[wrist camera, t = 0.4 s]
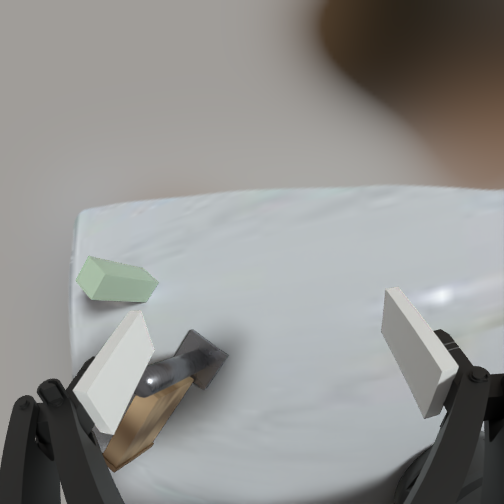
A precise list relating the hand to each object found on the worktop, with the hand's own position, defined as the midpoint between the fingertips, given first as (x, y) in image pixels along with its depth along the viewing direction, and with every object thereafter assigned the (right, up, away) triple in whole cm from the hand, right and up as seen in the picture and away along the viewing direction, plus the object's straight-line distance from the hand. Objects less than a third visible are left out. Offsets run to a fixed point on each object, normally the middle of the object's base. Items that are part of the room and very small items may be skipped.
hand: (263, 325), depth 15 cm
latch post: (-14, 0, +20) cm, 24 cm away
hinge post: (-6, -8, +17) cm, 20 cm away
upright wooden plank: (-11, -15, +16) cm, 25 cm away
